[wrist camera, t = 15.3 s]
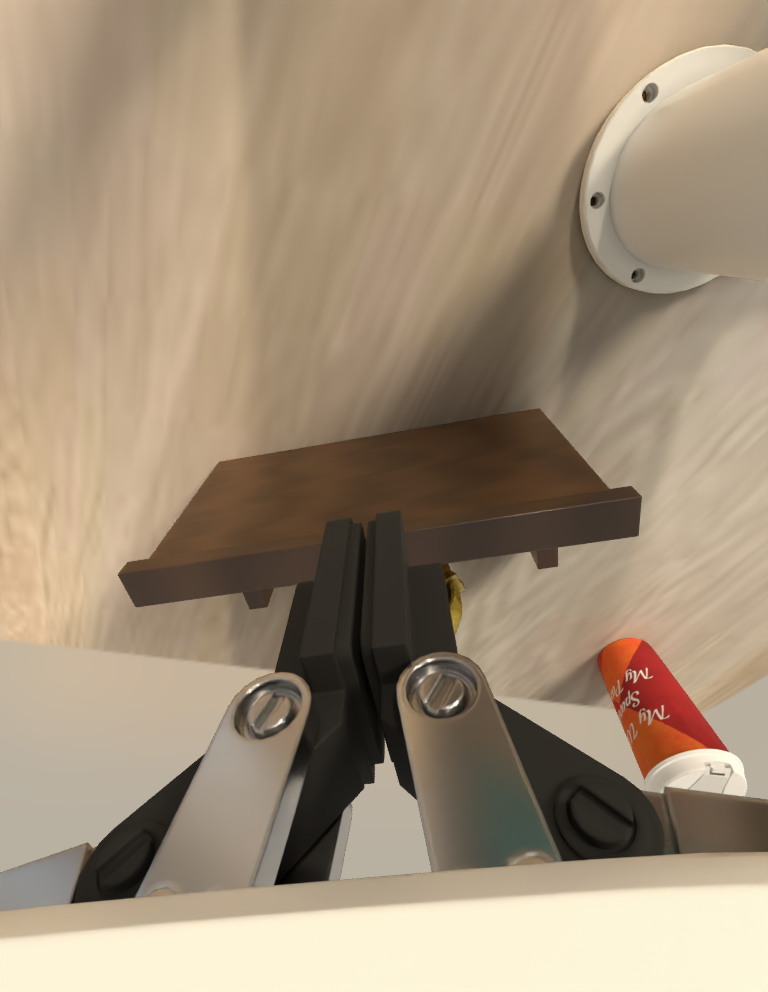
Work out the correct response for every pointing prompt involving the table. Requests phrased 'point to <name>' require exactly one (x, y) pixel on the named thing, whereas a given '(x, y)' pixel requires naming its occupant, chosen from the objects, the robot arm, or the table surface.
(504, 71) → the table surface
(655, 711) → the paper cup
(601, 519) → the wooden stand
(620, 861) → the robot arm
